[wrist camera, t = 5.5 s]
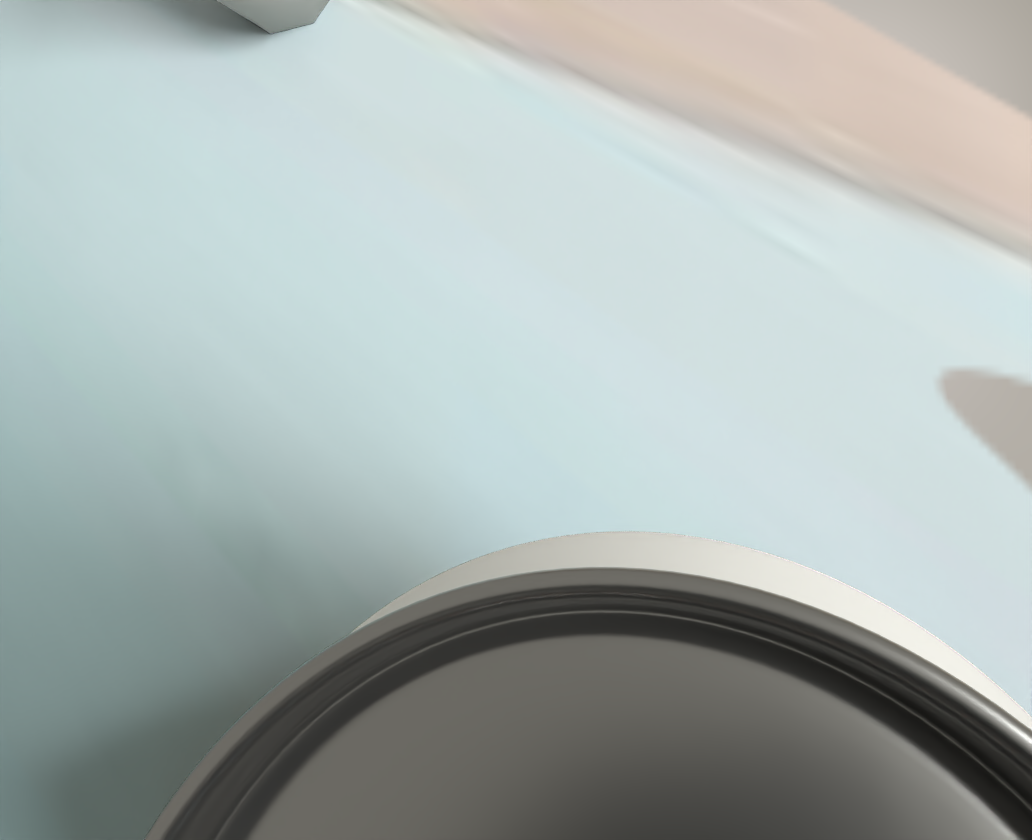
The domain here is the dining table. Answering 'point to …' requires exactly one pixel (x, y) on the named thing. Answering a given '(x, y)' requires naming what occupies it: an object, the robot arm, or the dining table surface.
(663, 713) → the can
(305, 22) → the salt shaker
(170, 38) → the dining table surface
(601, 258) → the dining table surface
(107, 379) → the dining table surface
